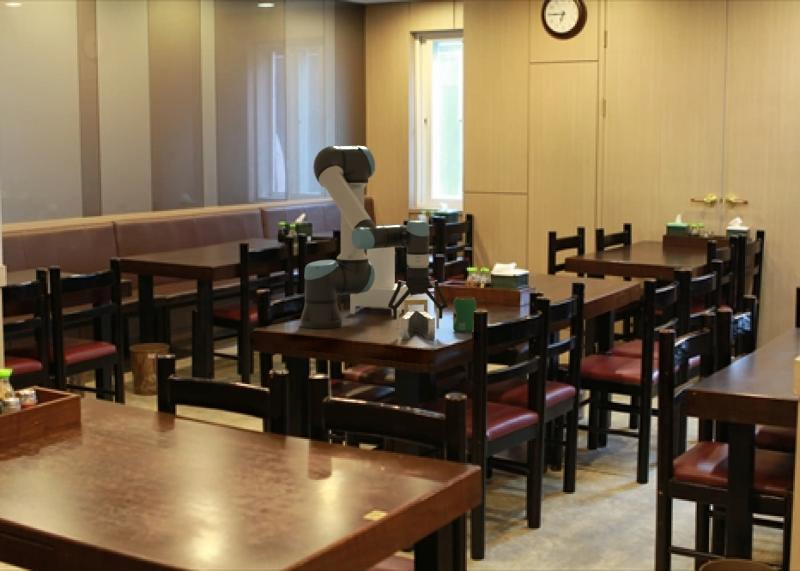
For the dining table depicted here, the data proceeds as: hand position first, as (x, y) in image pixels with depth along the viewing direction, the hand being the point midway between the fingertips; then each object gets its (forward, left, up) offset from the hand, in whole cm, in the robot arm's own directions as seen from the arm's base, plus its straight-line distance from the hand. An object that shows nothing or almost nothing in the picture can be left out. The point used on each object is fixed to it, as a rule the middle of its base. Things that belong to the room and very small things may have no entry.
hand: (417, 328), depth 390 cm
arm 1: (-3, +4, -3) cm, 6 cm away
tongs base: (0, +16, -3) cm, 17 cm away
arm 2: (+3, +4, -3) cm, 6 cm away
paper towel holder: (-12, +60, -4) cm, 61 cm away
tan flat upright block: (0, +17, -3) cm, 17 cm away
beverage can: (+17, +12, -4) cm, 21 cm away
